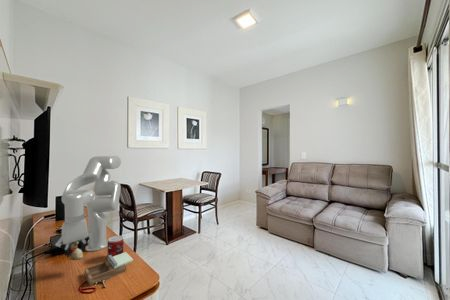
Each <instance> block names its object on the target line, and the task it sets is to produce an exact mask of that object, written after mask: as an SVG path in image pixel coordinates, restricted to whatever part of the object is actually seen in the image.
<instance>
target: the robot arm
mask: <svg viewBox="0 0 450 300" xmlns="http://www.w3.org/2000/svg"><path fill="white" fill-rule="evenodd" d="M121 164H122V160H121V158H120V156H117V155H113V156H111V155H109V156H108V155H106V156H105V155H103V156H93V157H91V158H90V159H89V161H88V162H87V165H86V166H85V169H84V170H83V173H82V174H81V175H78V176H77V177H76V178H74V179H72V180H71V181H70V182H69V183H68V184H67V185H66V187H65V188H64V191H63V192H62V196H61V203H62V204H63V205H64V222H62V225H61V237H60V238H59V239H58V240H57V242H56V243H55V246H56V247H58V248H61V249H63V250H64V255H65V257H66V256H67V258H69V244H70V243H72V242H75V241H81V243H80V249H81V250H82V252H83V253H84V252H85V251H87V252H96V251H100V250H102V249H105V248H108V240H107V216H106V214H105V213H106V212H115V211H116V210H117V209H118V207H119V202H120V198H121V197H120V196H121V189H122V187H121V183H120V182H119V181H116V180H112V181H111V174H110V172H109V171H108V170H113V169H114V170H115V169H118V168H119V167H120V166H121ZM93 183H94V185H93V190H91V189H80V188H82V187H84V186H87V185H90V184H93ZM79 189H80V190H79ZM85 206H86V210H87V213H85ZM85 217H88V222H87V219H86V218H85ZM87 223H88V224H87ZM87 243H88V244H87ZM86 244H87V245H86Z"/></svg>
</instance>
